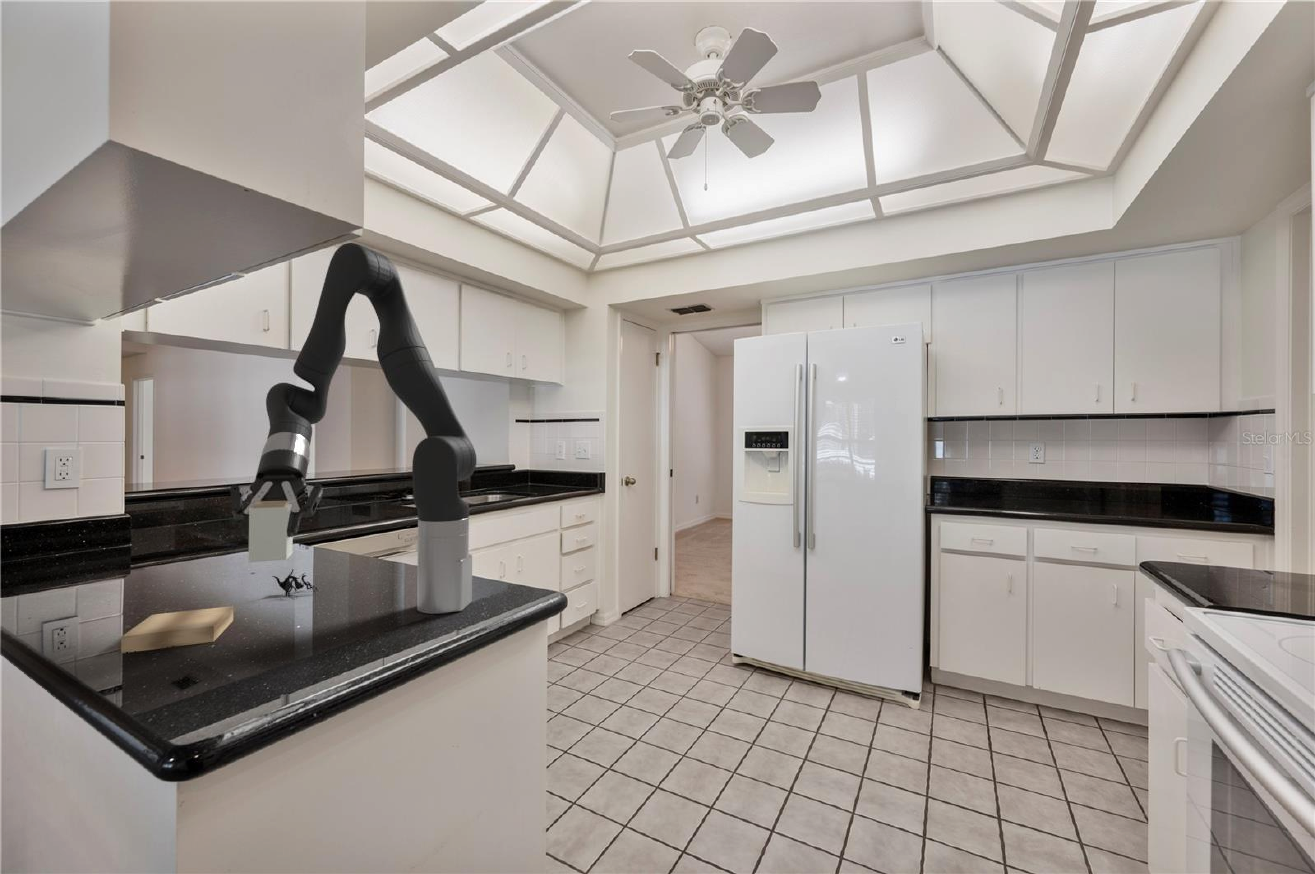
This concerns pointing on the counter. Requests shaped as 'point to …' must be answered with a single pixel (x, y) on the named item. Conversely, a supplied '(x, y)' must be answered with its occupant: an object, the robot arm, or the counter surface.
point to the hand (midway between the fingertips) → (269, 535)
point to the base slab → (177, 629)
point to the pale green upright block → (269, 531)
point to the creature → (287, 585)
